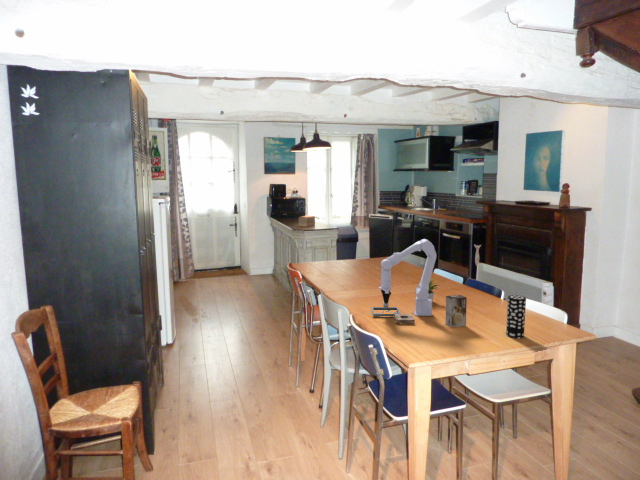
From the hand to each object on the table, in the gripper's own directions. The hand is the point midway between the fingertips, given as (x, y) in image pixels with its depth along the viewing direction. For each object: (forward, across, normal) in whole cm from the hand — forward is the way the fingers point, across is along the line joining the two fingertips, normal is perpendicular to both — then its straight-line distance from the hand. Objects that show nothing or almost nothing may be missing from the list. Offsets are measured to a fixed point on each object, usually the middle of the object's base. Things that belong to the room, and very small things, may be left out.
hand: (385, 302), depth 272 cm
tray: (+7, 0, 0) cm, 7 cm away
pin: (+3, 0, 0) cm, 3 cm away
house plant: (+7, -26, +29) cm, 40 cm away
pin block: (+7, +14, +9) cm, 18 cm away
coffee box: (+7, +20, +36) cm, 42 cm away
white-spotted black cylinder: (+7, +36, +62) cm, 72 cm away
